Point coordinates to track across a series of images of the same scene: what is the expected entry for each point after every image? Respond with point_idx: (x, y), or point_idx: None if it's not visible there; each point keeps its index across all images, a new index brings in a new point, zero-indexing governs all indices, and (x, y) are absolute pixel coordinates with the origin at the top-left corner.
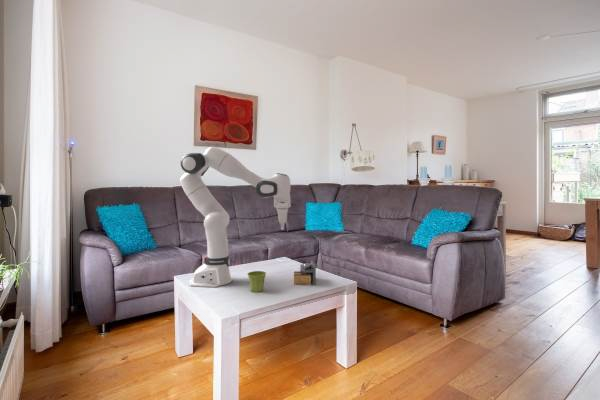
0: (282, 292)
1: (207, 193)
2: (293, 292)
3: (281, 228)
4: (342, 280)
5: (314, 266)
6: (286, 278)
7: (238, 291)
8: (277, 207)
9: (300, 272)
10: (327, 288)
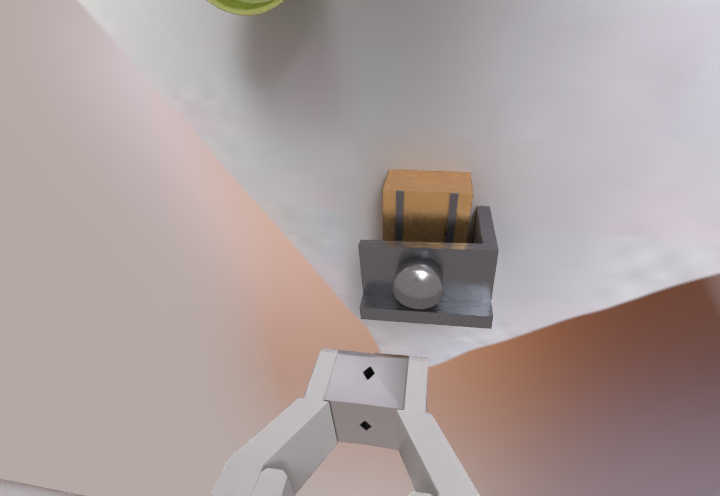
0: (271, 109)
1: None
2: (279, 162)
3: (316, 373)
4: (433, 353)
5: (365, 314)
6: (505, 129)
7: None
8: None
9: (445, 227)
10: (339, 291)
